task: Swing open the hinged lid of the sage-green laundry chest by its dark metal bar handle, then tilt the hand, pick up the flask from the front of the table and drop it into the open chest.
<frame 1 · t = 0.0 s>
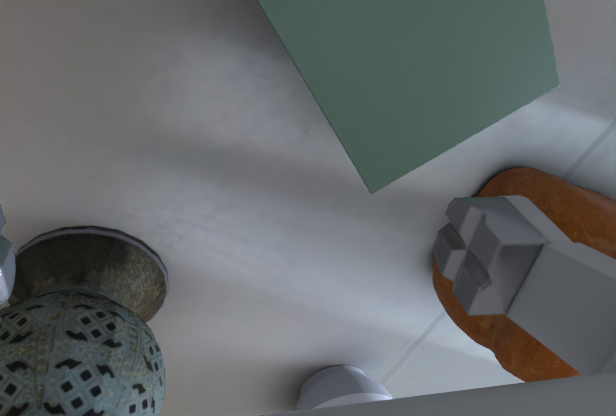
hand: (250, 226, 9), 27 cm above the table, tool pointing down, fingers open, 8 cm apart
bread: (525, 235, 53), on the table
chest lid: (433, 33, 24), point 11 cm above the table, hinge at 0.0°
bowl: (332, 385, 62), on the table
lantern: (86, 283, 44), on the table
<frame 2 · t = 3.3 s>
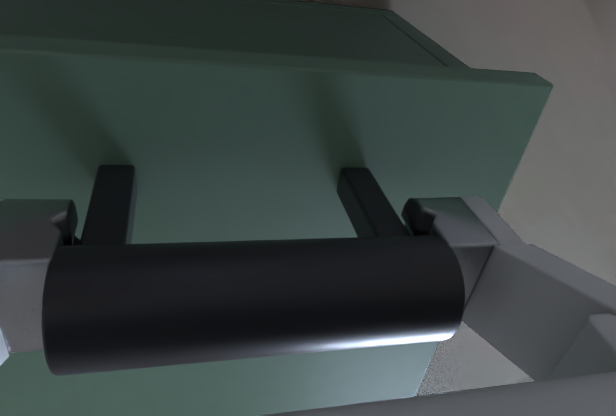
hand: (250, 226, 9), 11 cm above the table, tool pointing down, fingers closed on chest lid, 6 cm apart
chest: (209, 188, 22), on the table
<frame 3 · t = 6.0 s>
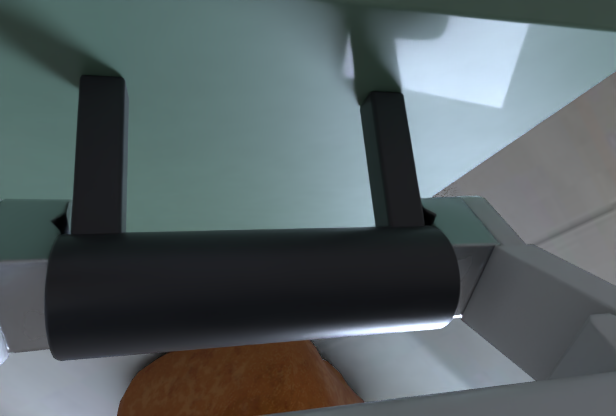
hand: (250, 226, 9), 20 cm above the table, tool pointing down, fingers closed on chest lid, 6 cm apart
bread: (255, 387, 45), on the table
chest lid: (227, 260, 14), point 16 cm above the table, hinge at 37.7°, touching gripper
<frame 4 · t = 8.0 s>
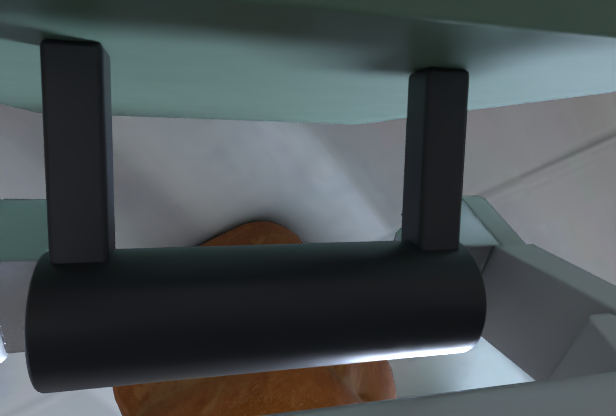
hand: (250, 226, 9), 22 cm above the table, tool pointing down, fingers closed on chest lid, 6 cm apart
bread: (256, 311, 44), on the table
chest lid: (230, 169, 13), point 18 cm above the table, hinge at 59.6°, touching gripper
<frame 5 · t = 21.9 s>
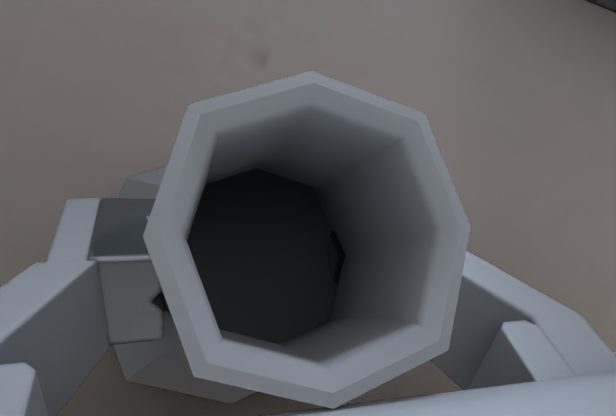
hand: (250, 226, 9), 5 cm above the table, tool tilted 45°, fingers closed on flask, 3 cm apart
flask: (225, 271, 14), on the table, touching gripper
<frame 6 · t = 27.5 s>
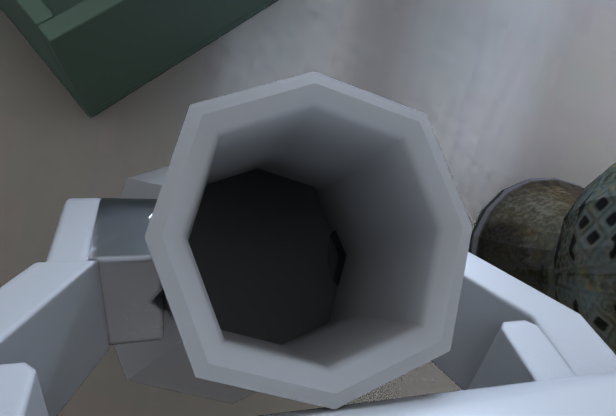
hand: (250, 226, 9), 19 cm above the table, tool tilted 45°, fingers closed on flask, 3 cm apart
lantern: (552, 281, 33), on the table
flask: (226, 271, 14), point 14 cm above the table, touching gripper
when the fingers open (12 cm above the table, at t = 33.0 s): flask drops 6 cm, resting on chest.
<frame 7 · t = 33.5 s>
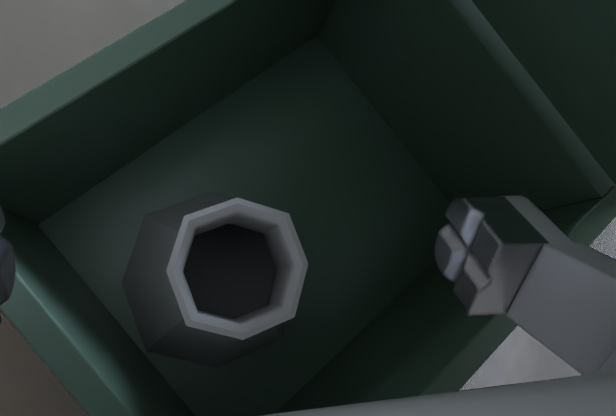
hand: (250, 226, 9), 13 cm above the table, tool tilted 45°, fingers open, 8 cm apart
chest: (274, 228, 22), on the table
flask: (213, 277, 21), point 1 cm above the table, touching chest
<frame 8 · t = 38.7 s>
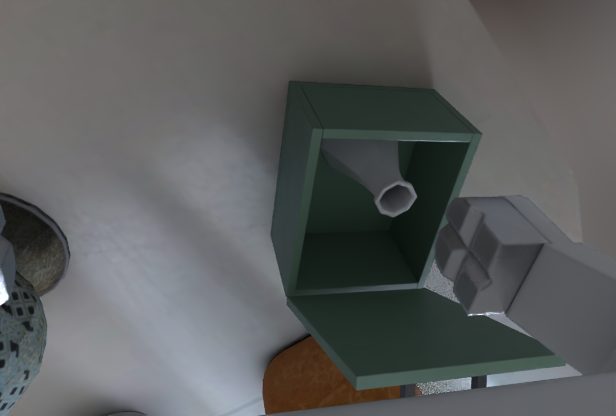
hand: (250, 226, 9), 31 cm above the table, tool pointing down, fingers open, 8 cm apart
bread: (339, 369, 67), on the table
chest: (347, 166, 47), on the table
chest lid: (400, 353, 36), point 18 cm above the table, hinge at 58.3°
flask: (356, 137, 44), point 1 cm above the table, touching chest
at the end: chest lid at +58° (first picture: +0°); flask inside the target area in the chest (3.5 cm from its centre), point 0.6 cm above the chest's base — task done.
